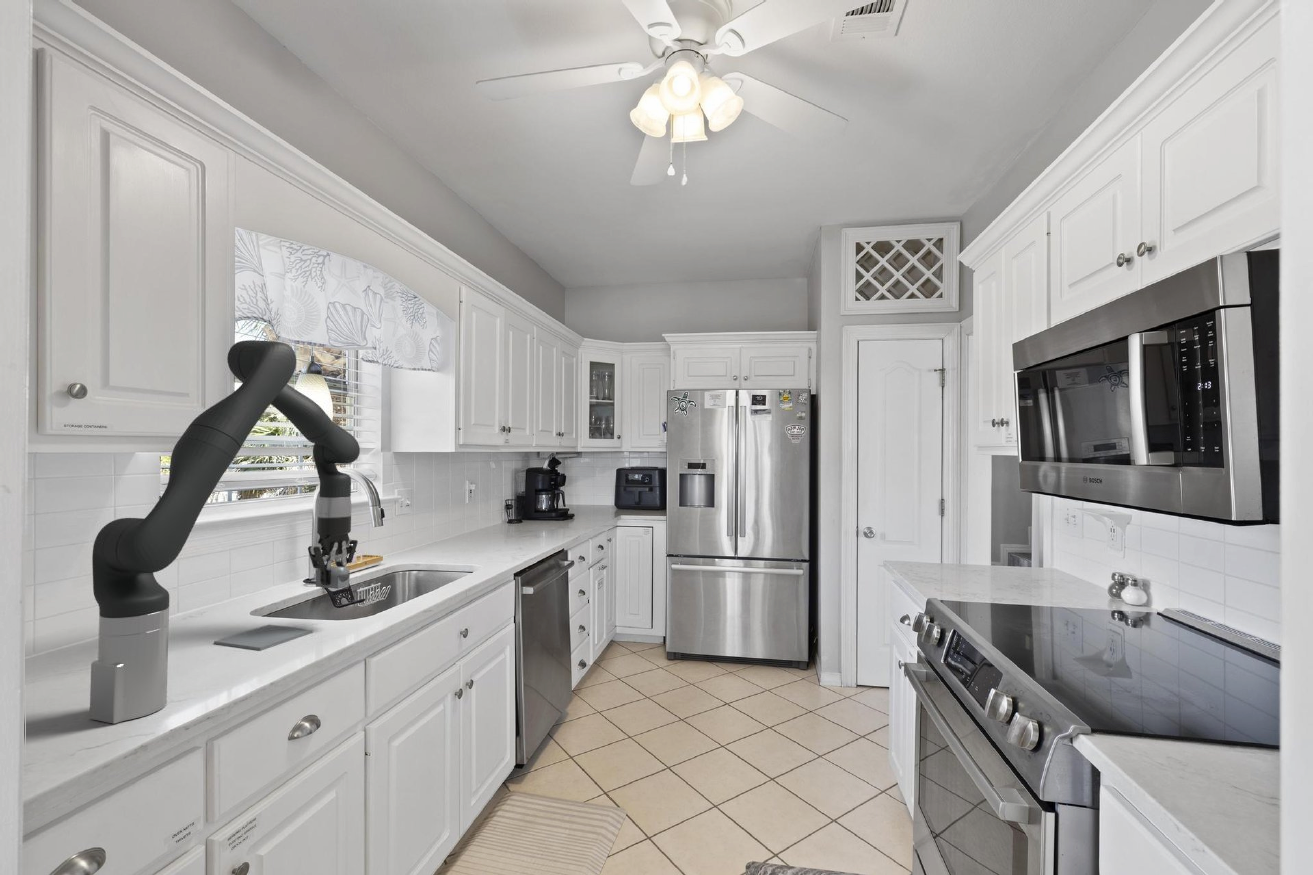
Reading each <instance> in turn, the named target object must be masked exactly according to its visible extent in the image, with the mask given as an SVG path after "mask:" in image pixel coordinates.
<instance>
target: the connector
mask: <svg viewBox="0 0 1313 875" xmlns="http://www.w3.org/2000/svg"><path fill="white" fill-rule="evenodd" d="M330 570H331V580H330V585H322V584H321V582H320V575H321V571H320V569H317V568H316V571H315V574H314V575H313V578H314V579H315V587H317V588H325V589H326V588H327V589H335V590H336V589H337V590H338V589H343V588H346V587H349V586H350V580H351V579H350V573H351V572H350V569H349V568H348V567H347V566H345V567H338V566H336V565H335V566H334V565H331V569H330Z"/></svg>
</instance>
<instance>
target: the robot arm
mask: <svg viewBox="0 0 1313 875" xmlns="http://www.w3.org/2000/svg"><path fill="white" fill-rule="evenodd" d="M227 365H228V368H229V370H230V372H231V373H232V375H234V377H235V378H236V379H237V380H239V381H240V382H241V383H242V384H240V385H239V387H238V388H237V389H236V390H235V391H233V392H232V393H231V394H229V395H228V396H226V397H225V398H222V400H220V401H218V402H216V403H215V404H214V405H212V406H210V407H208V408H207V409H206V410H204V411H203V412H201V413H200V414H199V415H197V417H195V418H194V419H193V420H192V422H191V423H190V424H189V425H188V427H187V428H186V429H185V431H184V432H183V433H182V435H181V436H180V438H179V439H178V440H177V442H176V444H175V445H174V447H173V449H172V451H171V456H170V461H169V462H170V463H169V476H168V482H167V486H166V487H165V490H164V492H163V493H162V494H161V497H160V498H159V499H158V500H157V502H156V504H155V505H154V507H153V508H152V509H151V511H149V513H148V514H147V515H146V516H145V517H144V518H140V517H122V518H121V517H120V518H117V519H114V520H112V521H110V522H108V523H106V524H105V525H104V526H103V527H101V529H100V531H98V533H97V535H96V537H95V540H94V542H93V546H92V556H91V559H92V562H91V563H92V589H93V595H94V596H93V597H94V600H95V601H96V602H97V604H98V609H99V610H98V613H99V614H98V616H99V617H98V641H97V642H98V645H97V646H98V649H97V651H98V652H97V659H96V660H93V661H92V662H91V664H90V685H89V687H90V691H89V696H90V697H89V720H94V721H100V722H104V723H109V724H118V723H121V722H124V721H129V720H133V719H137V718H142V717H145V716H148V715H151V714H153V713H156V712H157V711H160V710H161V709H163V708H164V707H165V706H166V705H167V702H168V700H167V698H168V664H169V663H168V662H169V659H168V658H169V629H170V628H169V624H170V623H169V622H170V592H169V591H168V590H167V589H166V588H165V587H163V586H162V585H160V583H159V582H158V581H157V579H156V578H155V575H154V573H158V572H160V571H162V570H164V569H166V568H167V567H169V566H170V565H171V564H172V563H174V561H175V560H176V559H177V558H178V556H179V554H180V553H181V551H182V550H183V548H184V546H185V544H186V542H187V541H188V538H189V536H190V534H191V532H192V530H193V528H194V527H195V526H194V525H195V524H196V523H197V520H198V517H199V516H200V514H201V512H202V510H203V508H204V506H205V505H206V503H207V501H208V500H209V498H210V497H211V495H212V494H213V492H214V490H215V488H216V487H217V485H218V484H219V481H220V480H221V479H222V477H223V476H224V474H225V472H226V471H227V470H228V468H229V467H230V465H231V464H232V462H233V460H234V459H235V458H236V456H237V455H238V453H239V452H240V450H241V448H242V447H243V445H244V443H245V441H246V440H247V438H248V436H249V435H250V434H251V432H252V431H253V429H254V428H255V426H256V425H257V424H258V422H259V420H260V418H262V416H263V415H264V413H265V412H266V410H267V409H268V407H269V406H270V405H271V406H273V408H275V409H276V411H277V410H278V411H279V412H280V414H282V415H283V417H285V418H287V419H288V421H289V422H290V423H291V424H292V425H293V426H294V428H296V429H297V430H298V432H299V433H300V434H302V436H304V438H305V439H306V440H307V441H308V442H310V443H312V444H313V447H312V457H313V460H314V463H315V464H314V465H315V468H316V471H317V475H318V479H319V493H318V494H319V496H318V497H319V499H318V503H317V504H318V505H317V523H316V524H317V525H316V526H317V528H316V530H317V531H316V532H317V534H318V535H319V539H318V540H317V543H316V544H315V545H309V546H308V548H307V551H308V554H309V558H310V561H311V564H312V567H313V569H316V570H317V569H320V571H321V575H320V582H321V584H322V585H330V580H331V570H330V569H331V566H332V565H333V561H334V563H335V566H338V567H347V565H348V564H351V563H352V562H353V559H354V556H355V552H356V549H357V546H358V543H359V542H358V540H357V539H351V538H350V537H349V533H351V532H352V531H351V530H352V500H351V496H352V494H351V493H352V477H351V476H350V475H349V474H347V473H344V472H340V471H339V470H338V468H337V466H336V464H341V465H346V464H351V463H354V462H356V460H357V459H359V456H360V452H361V449H360V448H361V447H360V444H359V443H358V442H359V441H358V440H357V439H356V437H355V436H353V434H351V433H350V432H348V431H347V429H346V430H345V428H343V427H341V426H340V425H338V424H337V423H335V422H334V421H333V420H332V419H331V418H330V416H329V415H328V414H327V413H326V412H325V411H324V410H323V408H322V407H321V406H320V405H319V404H317V402H315V401H314V400H313V399H312V398H310V397H308V396H307V395H305V394H303V393H301V392H300V391H298V390H297V389H295V388H294V387H292V386H291V385H289V382H290V380H292V377H293V375H294V373H295V371H296V367H297V356H296V353H295V351H294V349H293V348H292V347H291V346H290V345H288V344H286V343H284V342H280V341H272V340H254V339H249V340H248V339H247V340H240V341H238V342H236V343H234V344H232V346H231V347H230V349H229V351H228V353H227Z"/></svg>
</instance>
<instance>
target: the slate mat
mask: <svg viewBox="0 0 1313 875" xmlns="http://www.w3.org/2000/svg"><path fill="white" fill-rule="evenodd" d="M313 632H314V630H313V629H309V628H307V629H306V628H299V627H292V626H291V627H290V626H284V625H276V624H267V625H263V626H259V627H256V628H252V629H249V630H247V631H243V632H241V633H237V634H233V635H231V636H227V637H224V638H220V639H217V640H214V641H213V644H214V645H220V646H225V647H226V646H228V647H233V648H241V649H247V650H248V649H249V650H254V651H262V650H266V649H269V648H271V647H275V646H277V645H280V644H283V643H286V642H289V641H292V640H294V639H295V640H296V639H298V638H301V637H304V636H306V635H309V634H312V633H313Z"/></svg>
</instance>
